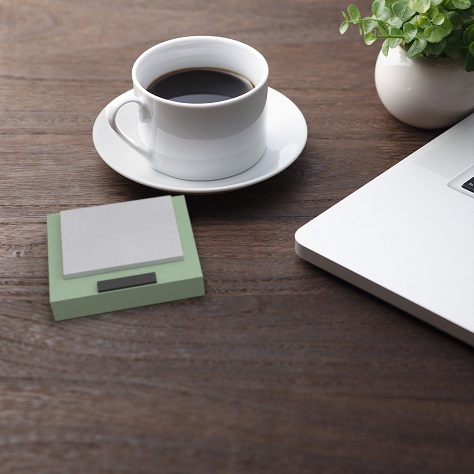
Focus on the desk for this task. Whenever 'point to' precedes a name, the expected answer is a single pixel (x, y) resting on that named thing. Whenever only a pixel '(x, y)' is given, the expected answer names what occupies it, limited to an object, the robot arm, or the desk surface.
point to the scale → (121, 257)
